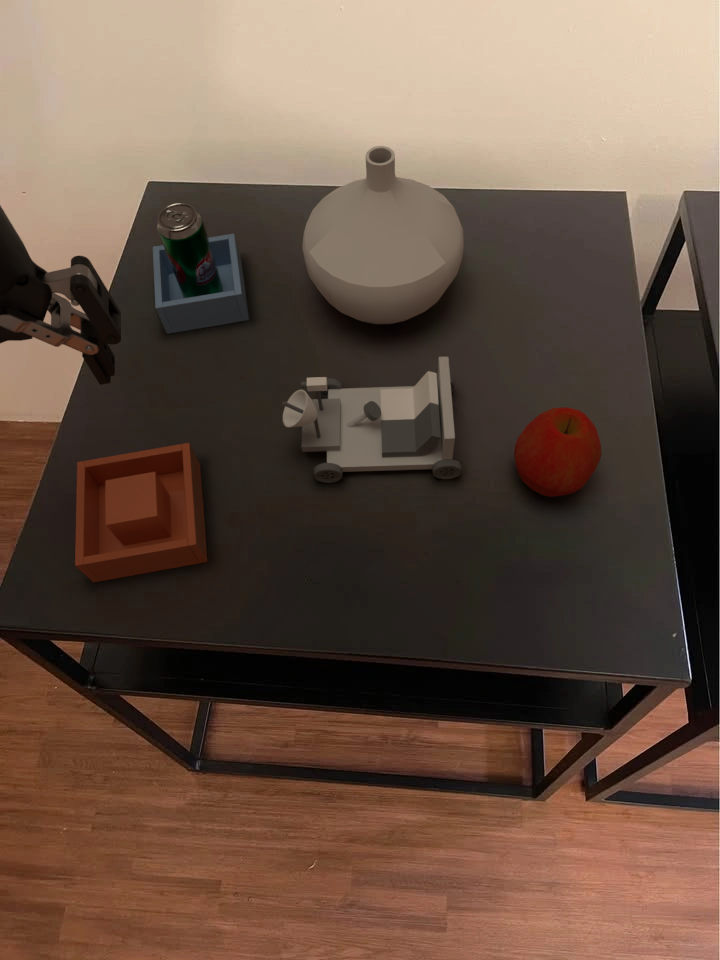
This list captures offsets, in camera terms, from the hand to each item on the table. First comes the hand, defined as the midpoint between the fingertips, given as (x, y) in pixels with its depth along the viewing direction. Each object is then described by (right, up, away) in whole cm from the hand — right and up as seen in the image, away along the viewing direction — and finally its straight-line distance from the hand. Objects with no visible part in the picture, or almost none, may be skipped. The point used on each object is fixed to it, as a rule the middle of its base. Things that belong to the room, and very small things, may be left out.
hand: (49, 384), depth 54 cm
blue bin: (+4, +16, +36) cm, 39 cm away
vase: (+26, +16, +35) cm, 47 cm away
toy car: (+25, -2, +25) cm, 35 cm away
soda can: (+4, +16, +35) cm, 39 cm away
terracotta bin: (+1, -11, +21) cm, 24 cm away
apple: (+43, -7, +21) cm, 49 cm away
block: (+1, -11, +21) cm, 24 cm away
